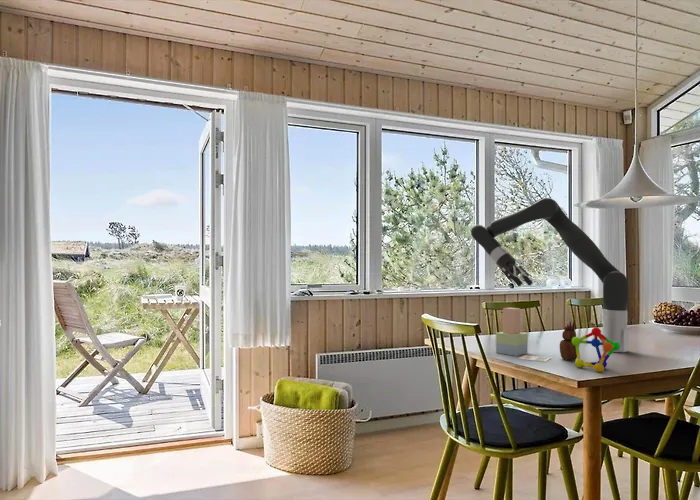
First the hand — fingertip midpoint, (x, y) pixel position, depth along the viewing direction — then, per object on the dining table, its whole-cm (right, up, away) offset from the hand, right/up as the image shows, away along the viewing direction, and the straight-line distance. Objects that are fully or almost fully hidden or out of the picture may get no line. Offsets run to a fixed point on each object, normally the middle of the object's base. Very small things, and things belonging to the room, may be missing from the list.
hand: (526, 284), depth 242 cm
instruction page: (-6, -27, -29) cm, 40 cm away
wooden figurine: (+7, -27, -31) cm, 41 cm away
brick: (-11, -18, -18) cm, 28 cm away
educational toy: (+10, -27, -46) cm, 54 cm away
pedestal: (-11, -26, -18) cm, 34 cm away
